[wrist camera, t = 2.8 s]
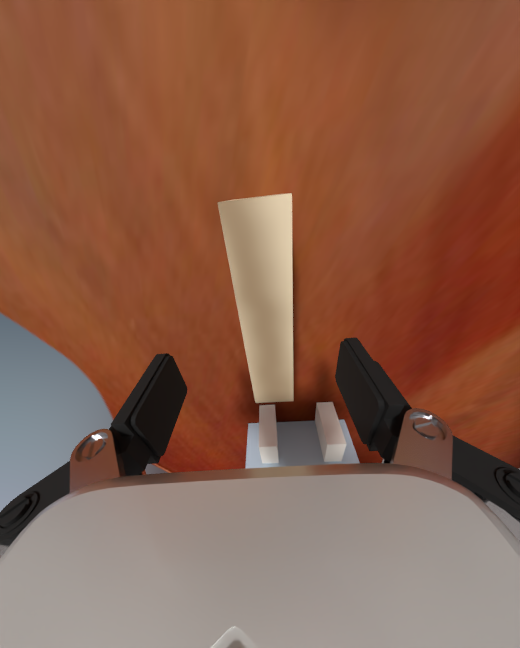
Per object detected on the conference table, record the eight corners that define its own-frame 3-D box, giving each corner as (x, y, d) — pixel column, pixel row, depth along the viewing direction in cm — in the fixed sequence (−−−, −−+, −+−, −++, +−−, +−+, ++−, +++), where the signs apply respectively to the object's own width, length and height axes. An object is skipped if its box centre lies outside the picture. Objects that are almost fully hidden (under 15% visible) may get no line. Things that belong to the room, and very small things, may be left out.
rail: (283, 193, 15) (292, 193, 10) (288, 360, 25) (294, 401, 20) (231, 200, 15) (216, 202, 10) (256, 362, 25) (254, 403, 20)
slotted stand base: (244, 406, 30) (238, 465, 24) (348, 401, 29) (373, 461, 23) (249, 429, 34) (246, 486, 28) (342, 426, 33) (362, 483, 27)
